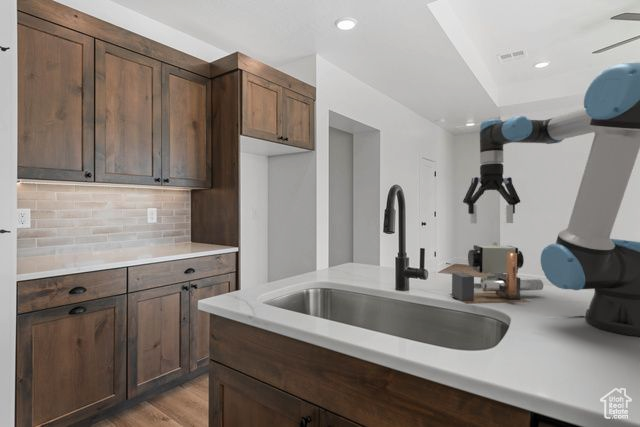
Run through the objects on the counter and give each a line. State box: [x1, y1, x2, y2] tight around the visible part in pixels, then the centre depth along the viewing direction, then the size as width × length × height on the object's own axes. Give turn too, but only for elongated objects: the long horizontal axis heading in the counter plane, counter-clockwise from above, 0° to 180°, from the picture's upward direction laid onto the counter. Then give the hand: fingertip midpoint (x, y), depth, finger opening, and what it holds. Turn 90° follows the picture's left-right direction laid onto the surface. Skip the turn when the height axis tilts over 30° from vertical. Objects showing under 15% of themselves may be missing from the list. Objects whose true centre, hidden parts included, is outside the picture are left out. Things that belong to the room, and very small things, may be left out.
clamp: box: [495, 273, 521, 300], centre depth 117 cm, size 7×4×7 cm, turn 5°
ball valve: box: [467, 241, 525, 283], centre depth 134 cm, size 18×8×18 cm, turn 84°
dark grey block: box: [451, 271, 475, 302], centre depth 116 cm, size 7×4×8 cm, turn 5°
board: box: [449, 292, 531, 305], centre depth 117 cm, size 12×22×1 cm, turn 95°
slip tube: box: [480, 253, 544, 295], centre depth 114 cm, size 20×10×14 cm, turn 95°
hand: (491, 223), depth 124 cm, fingers open, 13 cm apart
